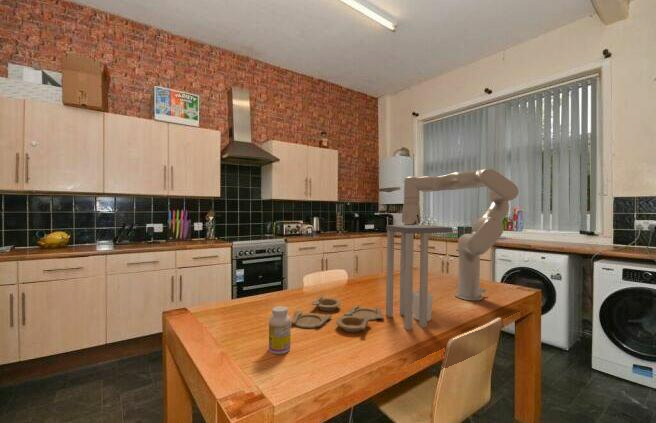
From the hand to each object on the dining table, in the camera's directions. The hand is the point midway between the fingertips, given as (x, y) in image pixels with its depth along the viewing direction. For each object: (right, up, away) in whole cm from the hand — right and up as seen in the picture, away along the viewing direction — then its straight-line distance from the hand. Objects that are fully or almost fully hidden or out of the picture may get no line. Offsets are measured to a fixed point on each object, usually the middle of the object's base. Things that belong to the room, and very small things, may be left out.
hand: (410, 237), depth 150 cm
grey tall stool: (-7, -30, -32) cm, 44 cm away
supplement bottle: (-57, -30, -59) cm, 87 cm away
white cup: (-4, -30, -31) cm, 43 cm away
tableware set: (-38, -30, -32) cm, 58 cm away
